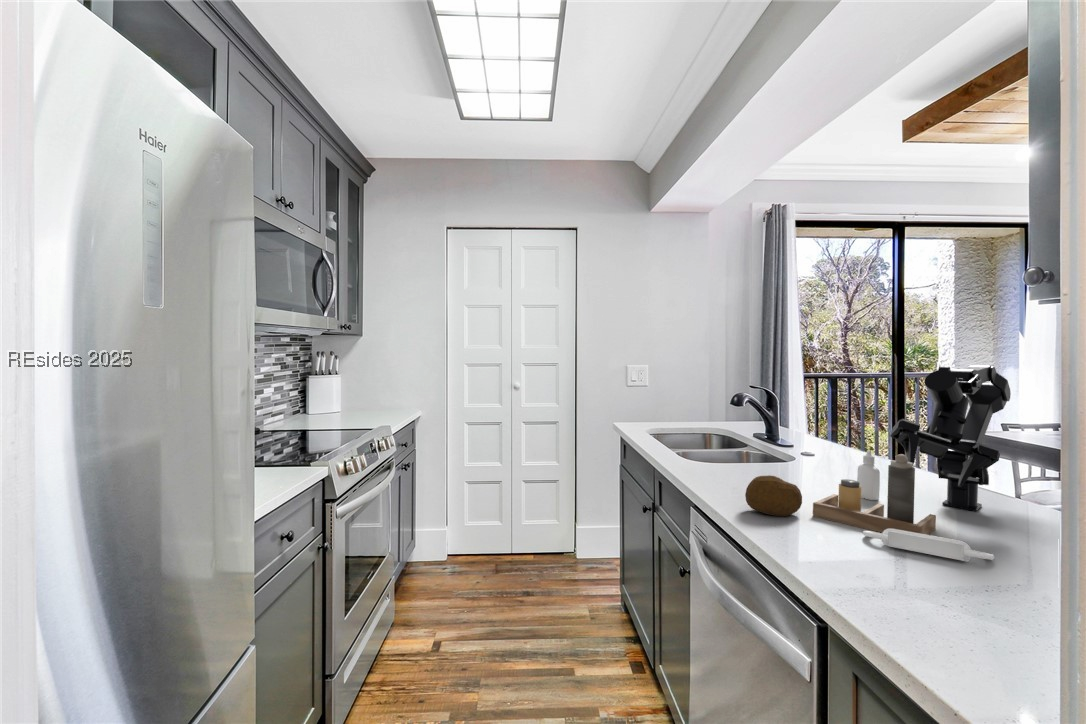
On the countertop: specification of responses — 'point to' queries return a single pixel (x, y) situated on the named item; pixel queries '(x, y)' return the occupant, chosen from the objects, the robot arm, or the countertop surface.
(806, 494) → the countertop surface
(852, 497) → the amber jar
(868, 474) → the eye dropper bottle
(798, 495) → the potato
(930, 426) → the robot arm
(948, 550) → the rolling pin
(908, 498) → the pepper mill
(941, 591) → the countertop surface
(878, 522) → the slot rack
